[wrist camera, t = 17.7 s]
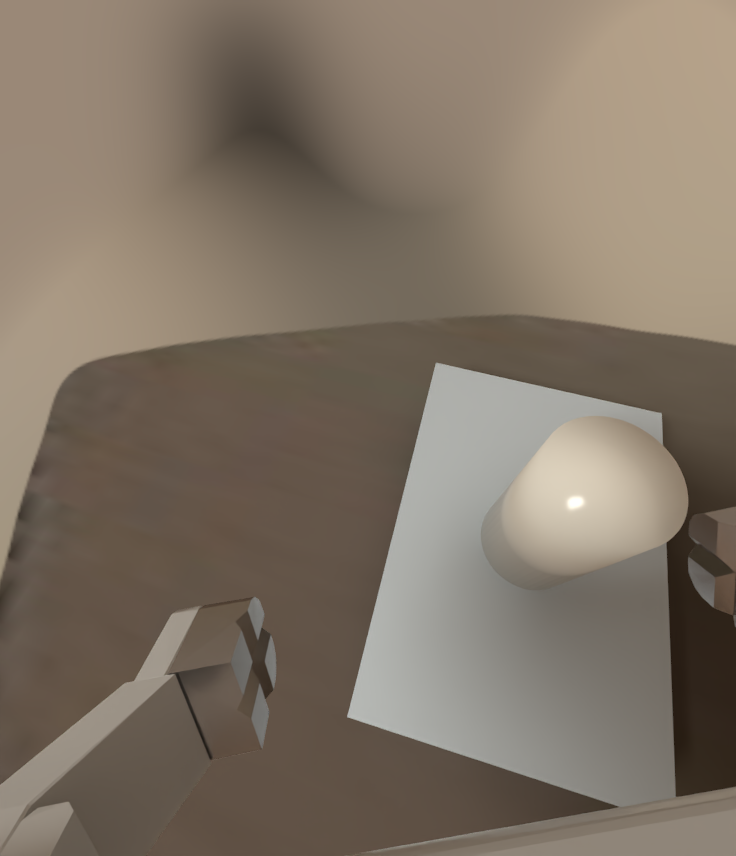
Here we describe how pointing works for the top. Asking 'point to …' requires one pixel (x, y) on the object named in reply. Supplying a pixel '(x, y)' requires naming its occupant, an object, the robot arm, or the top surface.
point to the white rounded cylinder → (584, 504)
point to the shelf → (516, 614)
